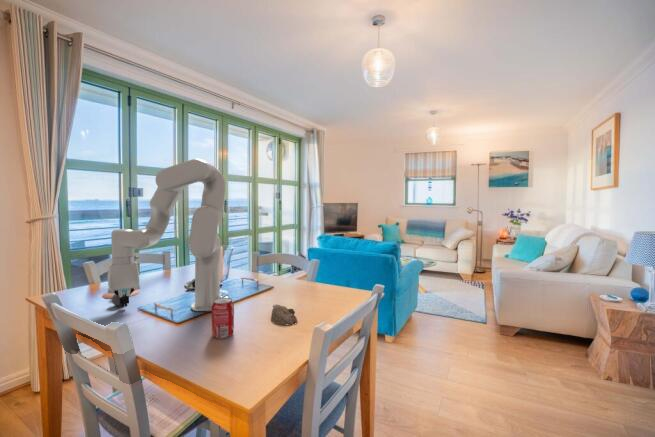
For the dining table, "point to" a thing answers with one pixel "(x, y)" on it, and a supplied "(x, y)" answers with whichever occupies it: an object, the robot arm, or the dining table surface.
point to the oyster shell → (283, 315)
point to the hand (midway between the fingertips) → (124, 305)
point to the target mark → (109, 296)
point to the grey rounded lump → (117, 299)
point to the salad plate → (191, 285)
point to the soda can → (222, 317)
